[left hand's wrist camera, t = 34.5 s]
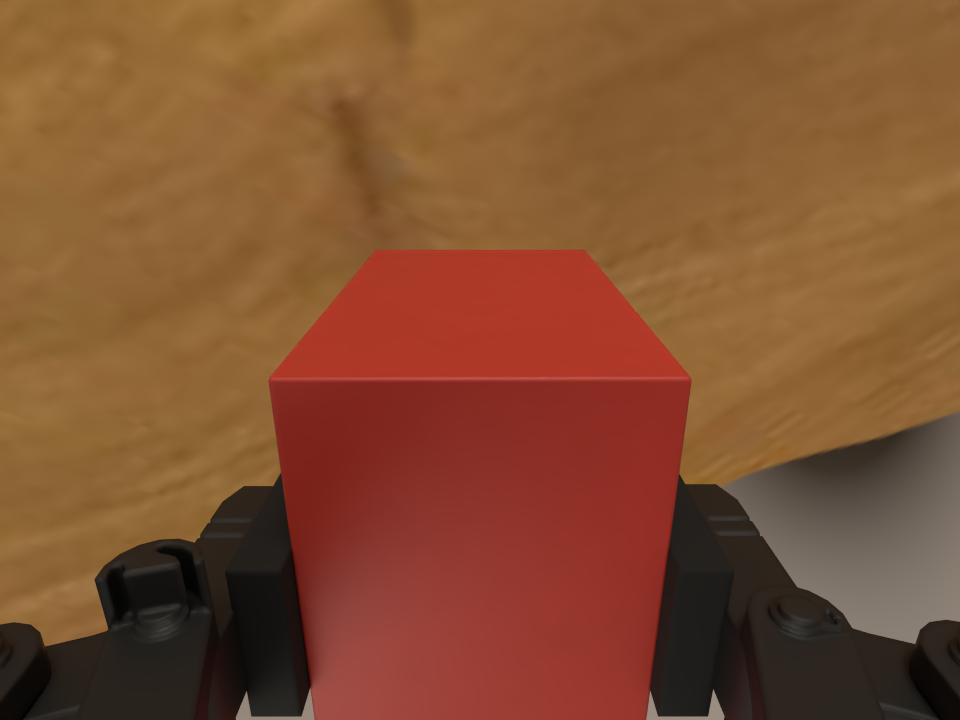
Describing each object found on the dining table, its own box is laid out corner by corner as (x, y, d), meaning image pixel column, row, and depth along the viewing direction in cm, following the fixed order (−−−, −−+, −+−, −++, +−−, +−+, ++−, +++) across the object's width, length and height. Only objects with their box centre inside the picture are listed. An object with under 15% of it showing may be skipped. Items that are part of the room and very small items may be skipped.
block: (569, 511, 19) (636, 802, 11) (391, 511, 19) (324, 801, 11) (585, 249, 16) (693, 378, 8) (374, 249, 16) (266, 378, 8)
